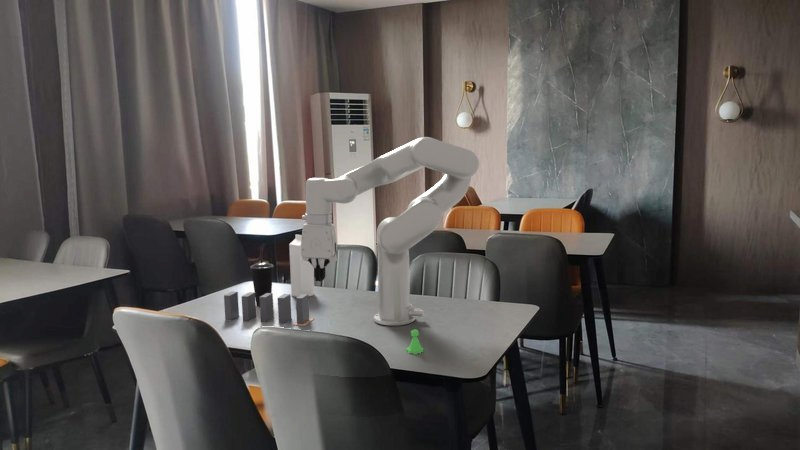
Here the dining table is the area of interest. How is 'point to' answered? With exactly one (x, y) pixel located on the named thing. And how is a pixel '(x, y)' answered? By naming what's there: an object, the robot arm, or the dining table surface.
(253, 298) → the domino
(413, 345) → the game piece
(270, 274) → the drinking cup
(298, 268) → the milk
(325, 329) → the dining table surface
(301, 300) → the domino
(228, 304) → the domino
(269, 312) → the domino
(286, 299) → the domino
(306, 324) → the head marker
